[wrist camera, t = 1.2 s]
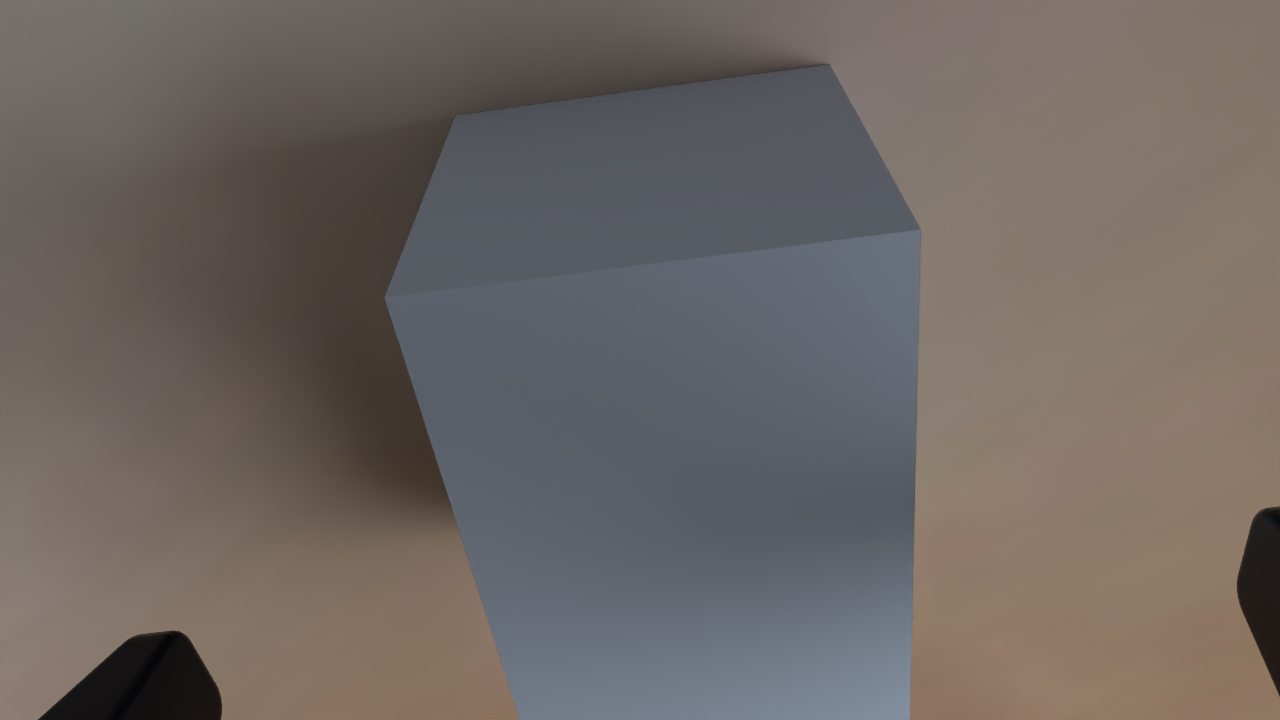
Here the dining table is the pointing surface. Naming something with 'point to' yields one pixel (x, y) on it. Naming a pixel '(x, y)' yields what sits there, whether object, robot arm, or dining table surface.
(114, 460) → the dining table surface
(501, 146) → the slate brick
